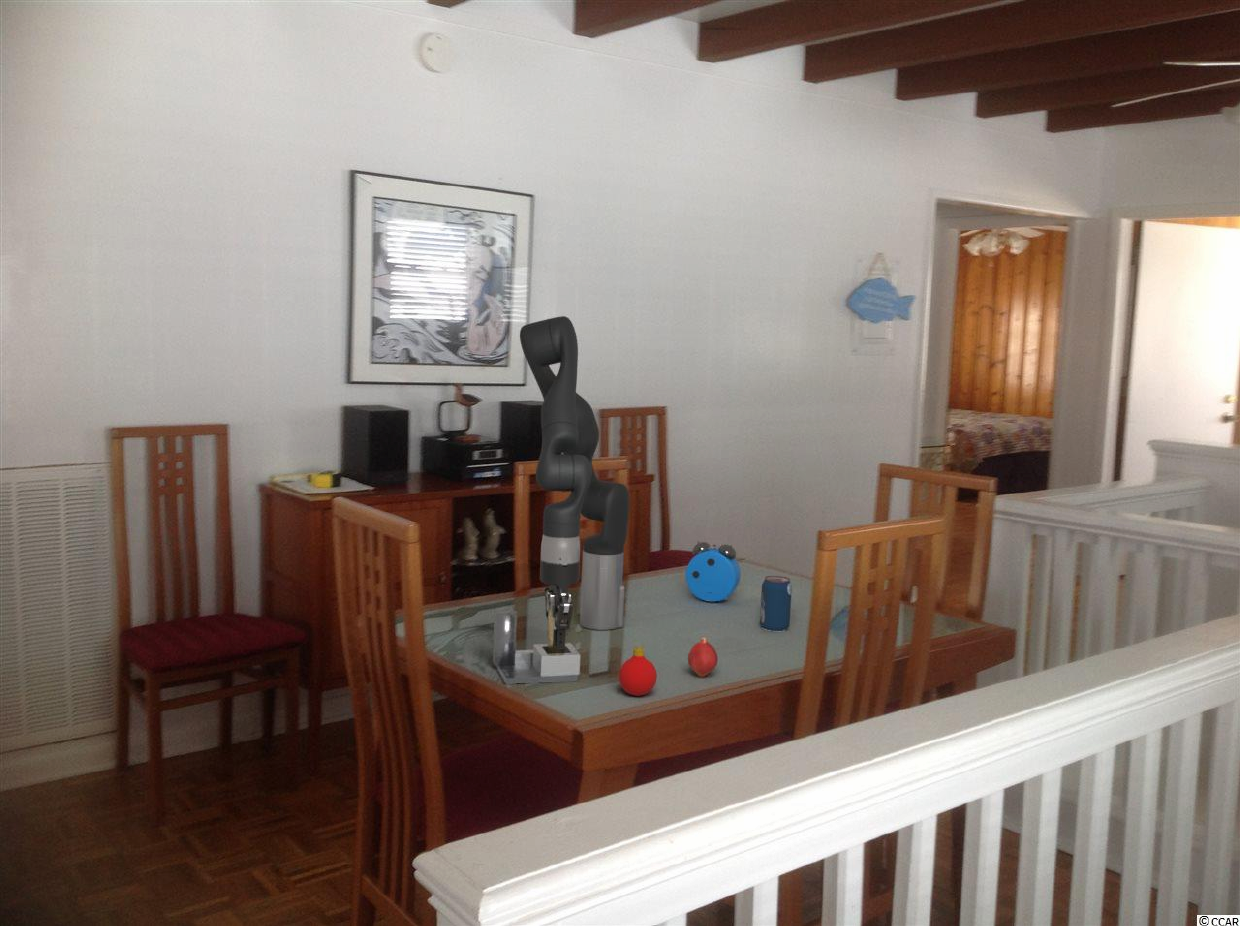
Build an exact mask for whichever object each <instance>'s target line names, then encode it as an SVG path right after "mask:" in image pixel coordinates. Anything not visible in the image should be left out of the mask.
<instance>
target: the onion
mask: <svg viewBox="0 0 1240 926" xmlns="http://www.w3.org/2000/svg"><path fill="white" fill-rule="evenodd" d="M716 651H717V650H715V647H714V646H713V645H712V644H711V643H709V642H708V640H707V638H705V637H702V638H701V639H700V641H699V642H697V643H695V644H694V645H693V646H692V647H691V648H690V649H689V652H688V655H687V661H688V662H687V663H688V665H689V667H690V669H691V670H692V671H693V672H694V673H695V674H696V675H697V676H699V678H705V677H706V676H707V675H709V674H710V673H712V672H713V670H715V668H716V667H717V665H718V654H717V652H716Z"/></svg>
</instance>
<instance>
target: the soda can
mask: <svg viewBox="0 0 1240 926" xmlns="http://www.w3.org/2000/svg"><path fill="white" fill-rule="evenodd" d="M792 591H793V585H792V583H791V579H790V578H789V577H786V576H783V575H782V576H781V575H780V576H779V575H768V576H765V577H764V581H763V583H762V584H761V593H760V594H761V597H760V609H759V611H760V612H759V625H760V627H761V629H762V628H764V629H767V630H771V631H783V630H786V629H788V628H789V626H790V621H791V608H792V607H791V606H792V595H793V594H792V593H793V592H792ZM764 629H763V630H764ZM786 631H787V630H786Z"/></svg>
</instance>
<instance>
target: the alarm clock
mask: <svg viewBox="0 0 1240 926" xmlns="http://www.w3.org/2000/svg"><path fill="white" fill-rule="evenodd" d="M691 550H692V554H693V555H694V556H693V557H692V558H691V559H690V561H689V562H688V564H687V566H686V569H685V581H686V584H687V587H688V589H689V591H690V592H691V594H692V595H694V596H695V597H696V598H697V599H699V600H701V599H702V600H701V601H703V600H709V601H718V602H721V601H723V600H725V598H727V599H728V597H729V596H730V595H732V594H733V592H735V591H736V589H737V588H738V586H739V585H740V584H739V583H740V581H741V568H740V565H739V563H738V561H737V558H736V557H737V549H736V548H735V547H734V546H733V544H731V545H730V544H729V543H723V544H720V546H719V547H718V545H717V544H712V546H711V544H710V543H709V542H708V541H697V543H695V544H694V545H693V547H692V549H691Z"/></svg>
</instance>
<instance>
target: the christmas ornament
mask: <svg viewBox="0 0 1240 926" xmlns="http://www.w3.org/2000/svg"><path fill="white" fill-rule="evenodd" d="M638 644H641V645H642V646H644V644H643V643H642V642H636V643H635V647H634V648H633V655H632V656H631V657H630V658H628V659H627V660H625V661H624V663H622V664H621V666H620V668H619V671H618V682H619V684H620V687H621V688H622V690H624V691H625V692H626V694H629V695H632V696H636V697H638V696H644V695H646V694H649V692H651V691H652V690H653V688H654V687H655V685H656V683H657V679H658V677H657V676H658V675H657V674H658V673H657V670H656V667H655V666H654V664H653V662H651V660H650V659H648V658H647V657H646V656H645V648H644V647H637V645H638Z"/></svg>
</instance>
